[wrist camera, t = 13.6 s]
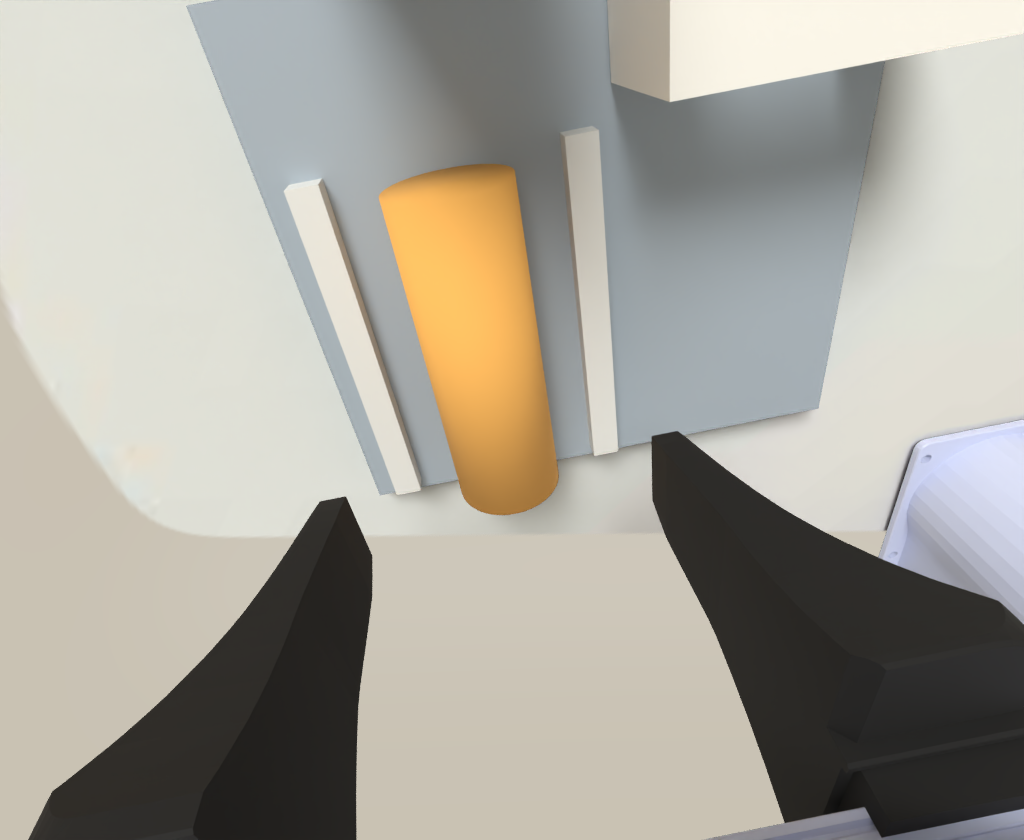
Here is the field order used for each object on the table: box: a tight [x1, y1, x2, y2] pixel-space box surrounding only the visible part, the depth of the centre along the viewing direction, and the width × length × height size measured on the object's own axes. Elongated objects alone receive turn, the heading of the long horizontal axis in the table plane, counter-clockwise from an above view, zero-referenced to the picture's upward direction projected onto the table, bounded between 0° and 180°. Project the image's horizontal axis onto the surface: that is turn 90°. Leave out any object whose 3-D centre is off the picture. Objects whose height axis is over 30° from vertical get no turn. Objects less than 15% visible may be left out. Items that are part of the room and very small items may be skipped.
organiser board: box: [186, 0, 885, 495], centre depth 20 cm, size 17×19×2 cm
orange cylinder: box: [379, 164, 559, 515], centre depth 19 cm, size 11×4×4 cm, turn 9°
